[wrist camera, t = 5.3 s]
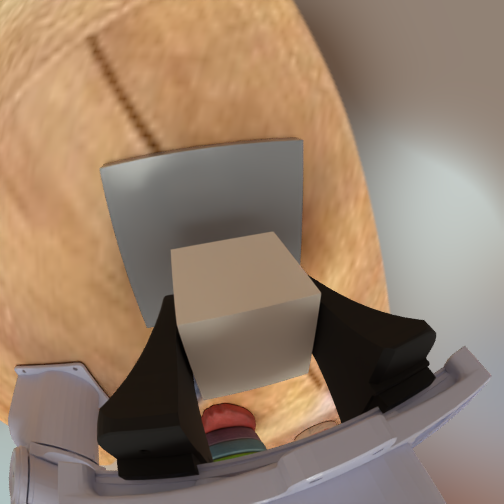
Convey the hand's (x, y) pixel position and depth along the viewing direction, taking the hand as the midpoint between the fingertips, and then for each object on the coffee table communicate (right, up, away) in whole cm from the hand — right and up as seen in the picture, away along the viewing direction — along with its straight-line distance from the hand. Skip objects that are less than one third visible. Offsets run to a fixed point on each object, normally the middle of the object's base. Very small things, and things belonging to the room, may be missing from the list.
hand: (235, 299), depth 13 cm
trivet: (-2, +3, +6) cm, 7 cm away
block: (0, +1, +2) cm, 2 cm away
